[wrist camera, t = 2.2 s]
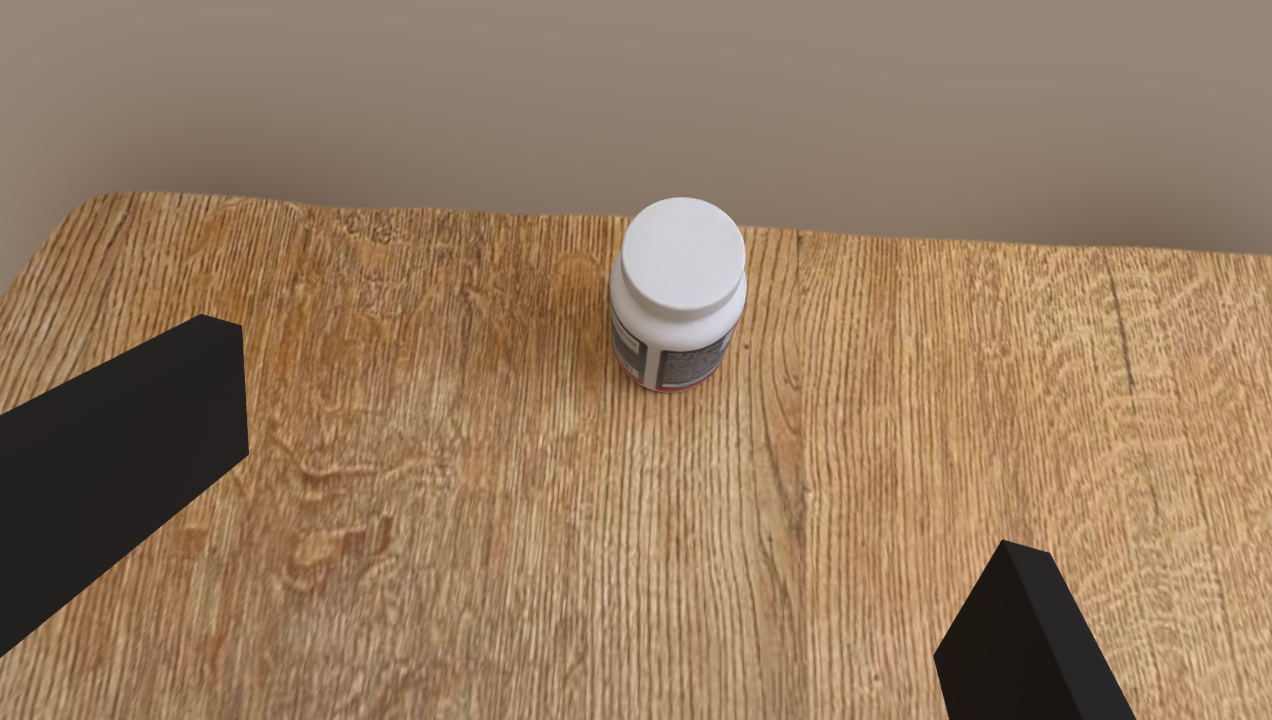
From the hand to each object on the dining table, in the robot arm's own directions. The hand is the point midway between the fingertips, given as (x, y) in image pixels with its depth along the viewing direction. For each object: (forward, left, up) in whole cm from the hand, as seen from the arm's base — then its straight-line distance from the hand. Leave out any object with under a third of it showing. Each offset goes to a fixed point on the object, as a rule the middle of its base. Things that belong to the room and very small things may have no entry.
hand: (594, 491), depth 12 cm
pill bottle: (-10, +4, -21) cm, 24 cm away
